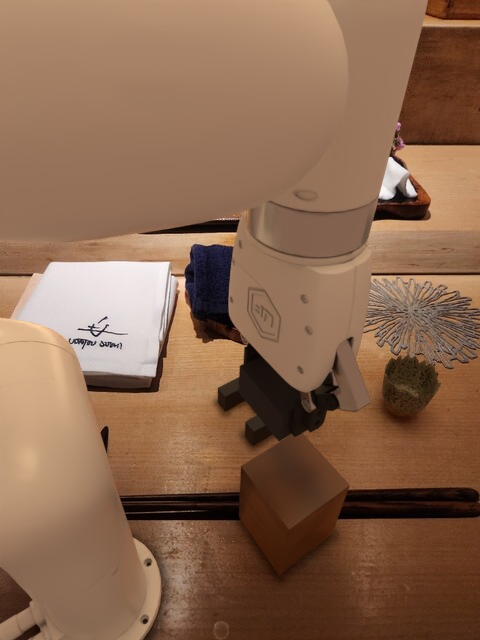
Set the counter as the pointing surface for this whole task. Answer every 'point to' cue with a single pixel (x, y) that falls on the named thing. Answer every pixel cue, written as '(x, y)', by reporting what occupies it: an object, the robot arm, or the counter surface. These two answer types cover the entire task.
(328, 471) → the block
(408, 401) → the cup
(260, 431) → the base pad
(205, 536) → the counter surface
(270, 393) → the small pad
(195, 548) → the counter surface
